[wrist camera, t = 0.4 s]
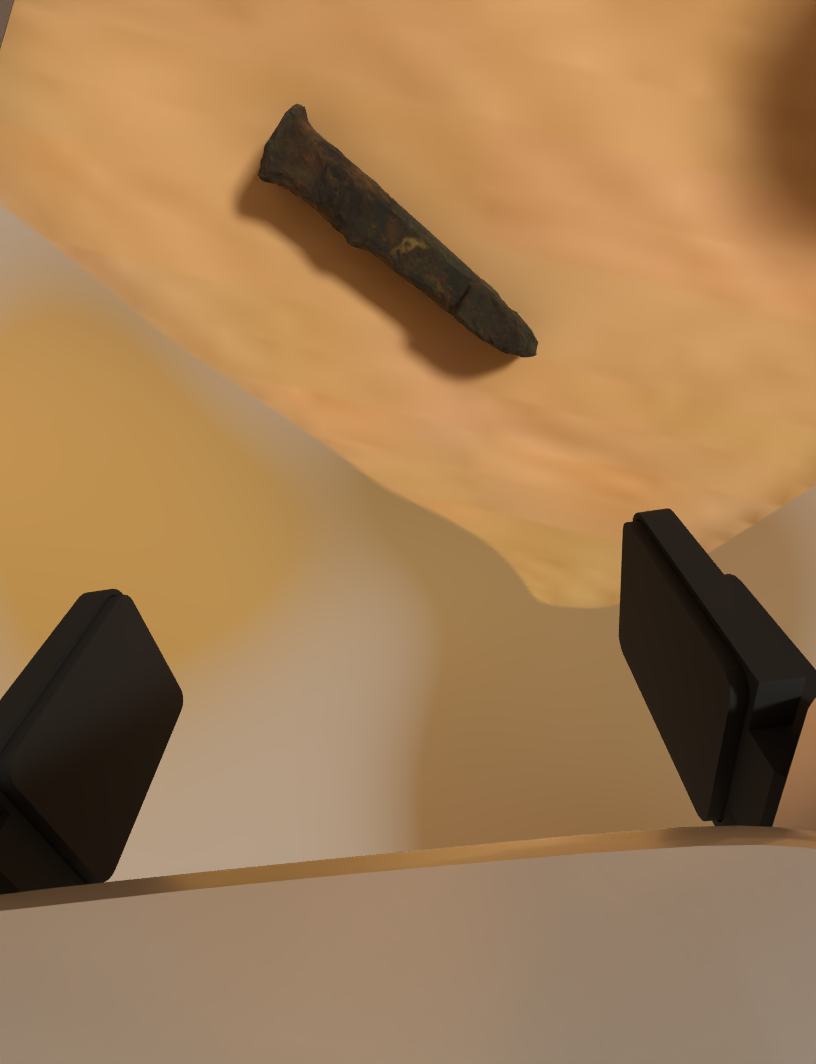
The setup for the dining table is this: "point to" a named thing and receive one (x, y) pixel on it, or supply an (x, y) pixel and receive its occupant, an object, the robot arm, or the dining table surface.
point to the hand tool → (387, 231)
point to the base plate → (4, 16)
